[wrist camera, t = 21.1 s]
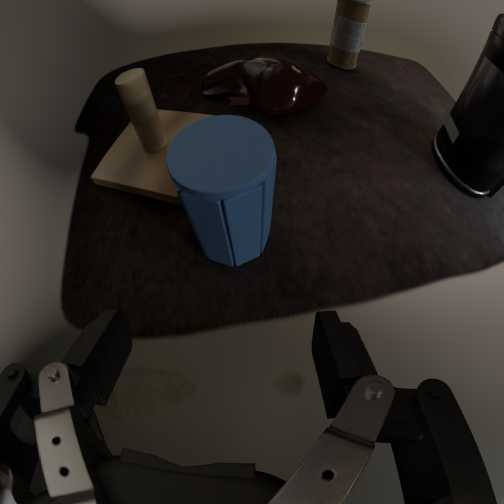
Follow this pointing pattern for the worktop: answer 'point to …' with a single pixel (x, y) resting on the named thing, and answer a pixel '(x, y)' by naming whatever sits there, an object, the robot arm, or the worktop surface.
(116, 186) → the dowel stand
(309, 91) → the dark red glossy lump
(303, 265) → the worktop surface
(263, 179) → the blue sleeve
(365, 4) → the sprinkles bottle
